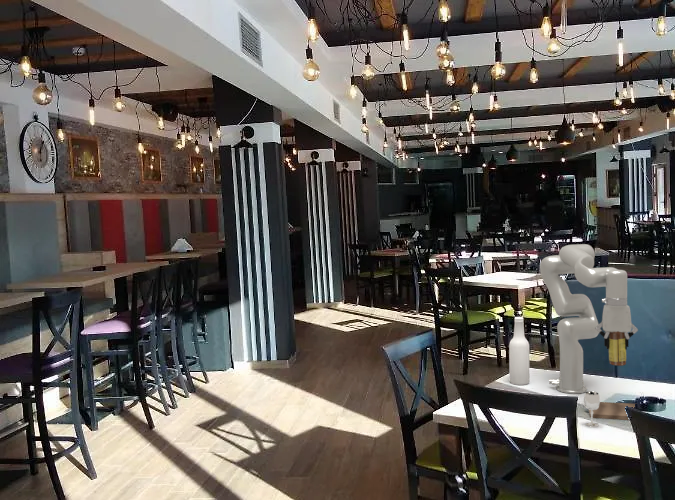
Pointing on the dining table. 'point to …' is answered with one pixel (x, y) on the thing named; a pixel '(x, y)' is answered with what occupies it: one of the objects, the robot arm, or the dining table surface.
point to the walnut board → (611, 411)
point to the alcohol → (519, 355)
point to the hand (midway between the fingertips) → (616, 348)
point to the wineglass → (591, 404)
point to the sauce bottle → (617, 348)
